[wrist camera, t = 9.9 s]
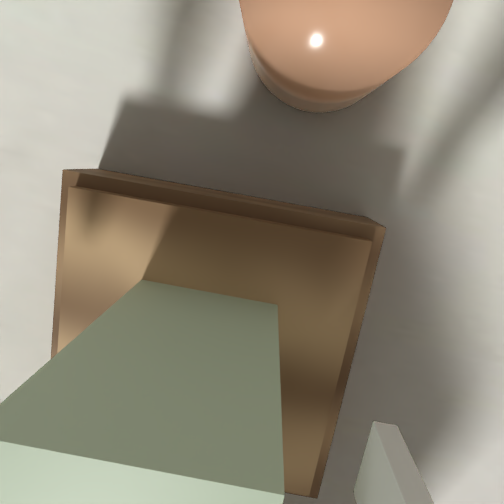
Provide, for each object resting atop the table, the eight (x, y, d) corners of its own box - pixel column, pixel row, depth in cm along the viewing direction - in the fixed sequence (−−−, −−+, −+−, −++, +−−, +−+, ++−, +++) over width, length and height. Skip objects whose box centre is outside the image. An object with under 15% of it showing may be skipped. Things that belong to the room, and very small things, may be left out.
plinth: (97, 168, 20) (55, 169, 16) (367, 217, 20) (390, 230, 16) (77, 406, 23) (38, 455, 19) (310, 450, 23) (318, 508, 19)
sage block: (141, 279, 17) (-35, 434, 7) (277, 304, 17) (284, 495, 7) (127, 400, 18) (-38, 668, 9) (253, 424, 18) (231, 721, 9)
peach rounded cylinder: (262, -66, 17) (256, -181, 12) (417, -39, 17) (490, -141, 12) (236, 99, 19) (220, 70, 13) (378, 124, 19) (426, 106, 13)
